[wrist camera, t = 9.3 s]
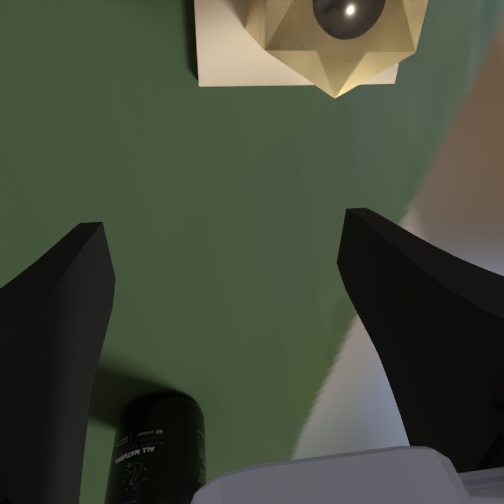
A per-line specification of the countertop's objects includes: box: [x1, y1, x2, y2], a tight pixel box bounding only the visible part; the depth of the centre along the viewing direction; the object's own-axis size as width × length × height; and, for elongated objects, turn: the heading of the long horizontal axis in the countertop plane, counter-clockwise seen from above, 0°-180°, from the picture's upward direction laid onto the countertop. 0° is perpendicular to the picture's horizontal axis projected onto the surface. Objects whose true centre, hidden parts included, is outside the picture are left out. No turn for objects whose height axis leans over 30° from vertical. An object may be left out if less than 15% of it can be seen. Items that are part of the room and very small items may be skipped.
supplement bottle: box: [104, 394, 206, 504], centre depth 28 cm, size 7×7×12 cm
